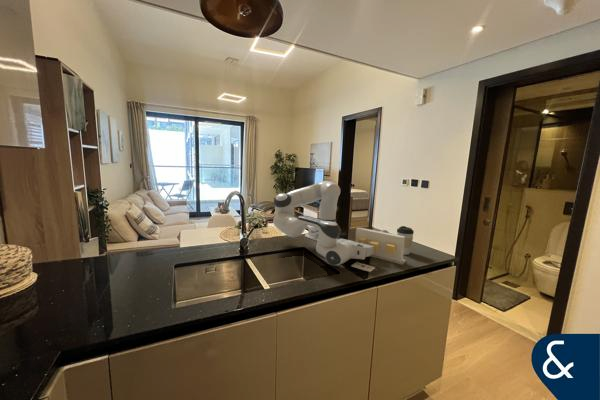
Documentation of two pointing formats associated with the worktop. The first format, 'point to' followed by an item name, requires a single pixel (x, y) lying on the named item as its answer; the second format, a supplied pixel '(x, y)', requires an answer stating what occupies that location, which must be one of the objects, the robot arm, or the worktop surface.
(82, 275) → the worktop surface
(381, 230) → the donut
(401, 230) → the coffee cup
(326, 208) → the robot arm
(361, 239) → the button left
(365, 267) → the pattern card
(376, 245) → the button middle
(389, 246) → the button right
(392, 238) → the button panel
